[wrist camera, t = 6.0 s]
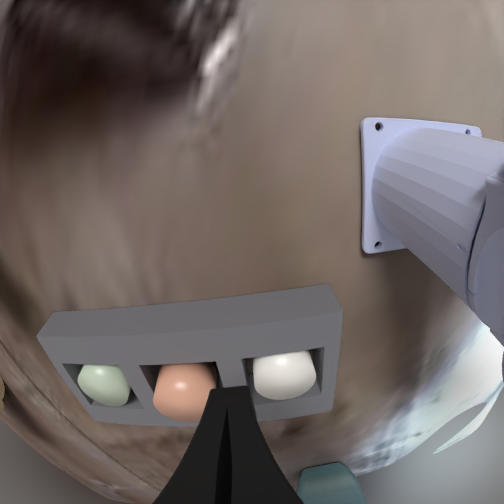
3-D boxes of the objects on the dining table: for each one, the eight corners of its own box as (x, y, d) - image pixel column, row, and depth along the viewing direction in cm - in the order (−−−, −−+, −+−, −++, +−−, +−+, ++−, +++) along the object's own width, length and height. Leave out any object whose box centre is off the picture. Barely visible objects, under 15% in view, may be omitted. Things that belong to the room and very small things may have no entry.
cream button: (307, 325, 19) (317, 356, 17) (307, 364, 21) (315, 394, 18) (248, 333, 19) (250, 365, 17) (254, 372, 21) (257, 403, 18)
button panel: (328, 283, 18) (343, 311, 16) (323, 383, 23) (332, 410, 20) (53, 311, 18) (36, 336, 16) (103, 396, 22) (95, 421, 20)
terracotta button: (210, 350, 18) (208, 385, 15) (221, 388, 20) (221, 421, 17) (152, 354, 18) (143, 387, 15) (169, 390, 20) (164, 422, 17)
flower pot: (288, 464, 30) (297, 523, 22) (354, 451, 30) (370, 507, 22) (288, 483, 34) (295, 532, 26) (345, 473, 34) (357, 519, 26)
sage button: (125, 343, 19) (114, 372, 17) (143, 379, 21) (135, 407, 18) (82, 343, 19) (68, 370, 17) (102, 378, 21) (92, 404, 18)
